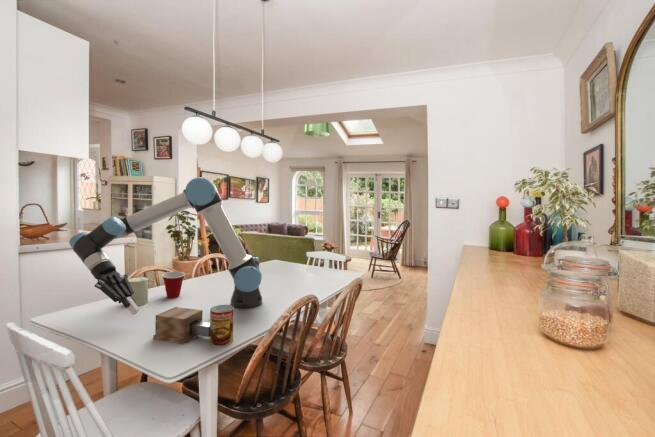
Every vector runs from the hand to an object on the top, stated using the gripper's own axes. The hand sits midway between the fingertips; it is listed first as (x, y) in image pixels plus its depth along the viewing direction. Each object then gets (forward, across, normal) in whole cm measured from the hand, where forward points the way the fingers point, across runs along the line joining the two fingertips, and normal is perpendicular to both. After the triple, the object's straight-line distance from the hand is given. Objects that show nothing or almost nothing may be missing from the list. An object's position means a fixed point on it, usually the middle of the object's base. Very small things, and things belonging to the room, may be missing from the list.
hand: (136, 312), depth 121 cm
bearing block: (+19, 0, +9) cm, 20 cm away
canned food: (+31, 0, +21) cm, 37 cm away
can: (-13, -26, -23) cm, 37 cm away
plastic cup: (-7, -40, -17) cm, 44 cm away
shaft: (+20, 0, +12) cm, 23 cm away
